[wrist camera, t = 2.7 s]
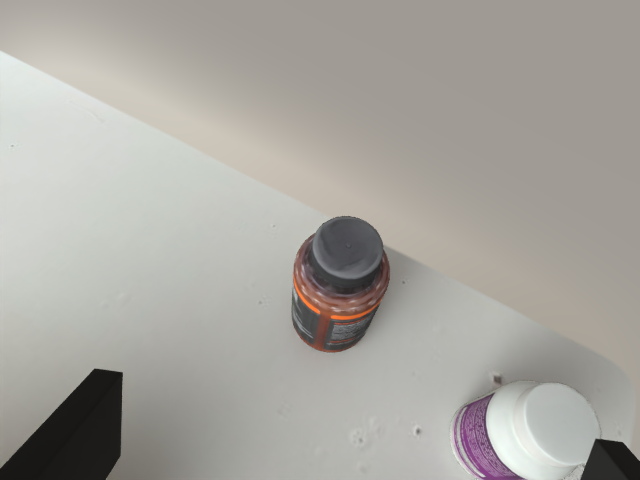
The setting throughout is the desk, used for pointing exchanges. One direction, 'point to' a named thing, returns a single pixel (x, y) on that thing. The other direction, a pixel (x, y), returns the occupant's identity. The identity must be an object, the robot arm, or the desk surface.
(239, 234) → the desk surface
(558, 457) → the pill bottle
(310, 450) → the desk surface
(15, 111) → the desk surface
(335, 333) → the supplement bottle
